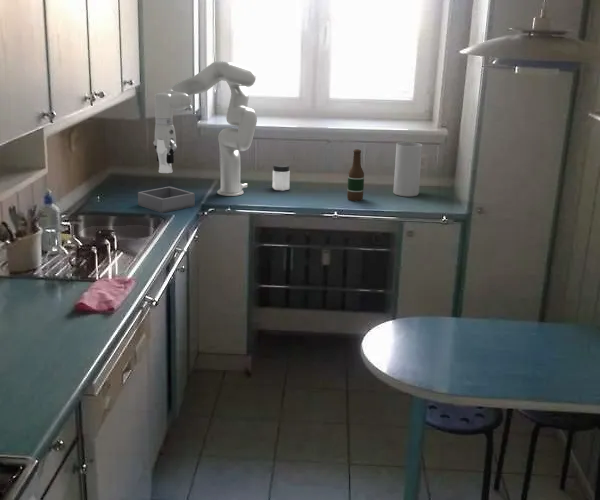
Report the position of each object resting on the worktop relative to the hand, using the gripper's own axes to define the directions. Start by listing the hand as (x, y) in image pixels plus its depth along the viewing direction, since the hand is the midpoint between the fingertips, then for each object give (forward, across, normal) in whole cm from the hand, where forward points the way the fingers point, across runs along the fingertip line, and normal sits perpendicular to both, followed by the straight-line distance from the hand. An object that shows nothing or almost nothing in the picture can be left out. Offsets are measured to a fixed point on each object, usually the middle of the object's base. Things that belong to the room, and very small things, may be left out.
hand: (165, 161), depth 338 cm
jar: (+20, -10, -64) cm, 68 cm away
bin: (+20, 0, 0) cm, 20 cm away
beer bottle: (+20, -49, -75) cm, 92 cm away
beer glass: (+5, 0, 0) cm, 5 cm away
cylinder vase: (+20, -59, -103) cm, 120 cm away
